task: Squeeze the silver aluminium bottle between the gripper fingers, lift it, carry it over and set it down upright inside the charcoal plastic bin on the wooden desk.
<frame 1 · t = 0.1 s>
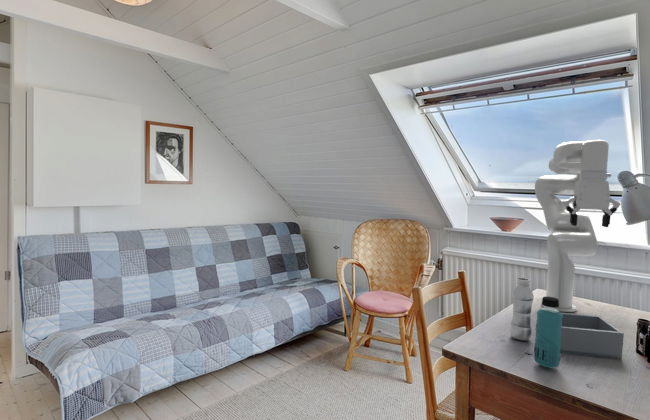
hand: (589, 226, 137), 37 cm above the table, tool pointing down, fingers open, 9 cm apart
bin: (579, 346, 125), on the table
silver aluminium bottle: (520, 339, 130), on the table
beverage bottle: (546, 368, 110), on the table
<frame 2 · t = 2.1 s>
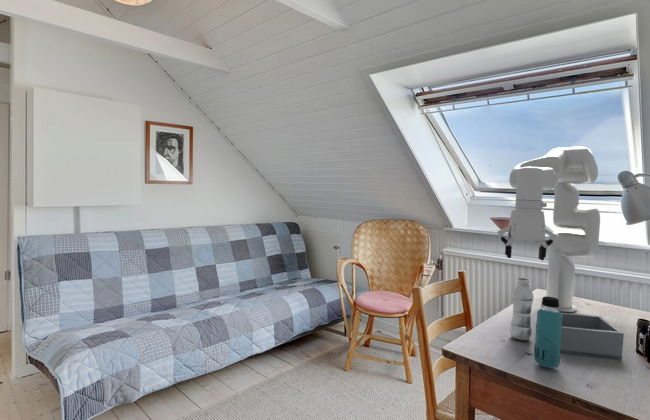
hand: (524, 258, 127), 27 cm above the table, tool pointing down, fingers open, 9 cm apart
nothing on the table moved.
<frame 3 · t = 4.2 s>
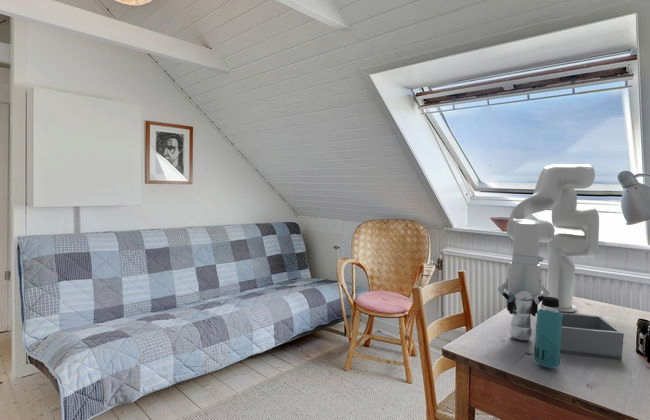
hand: (521, 313, 129), 9 cm above the table, tool pointing down, fingers closed on silver aluminium bottle, 6 cm apart
silver aluminium bottle: (520, 339, 130), on the table, touching gripper
everything else where it was.
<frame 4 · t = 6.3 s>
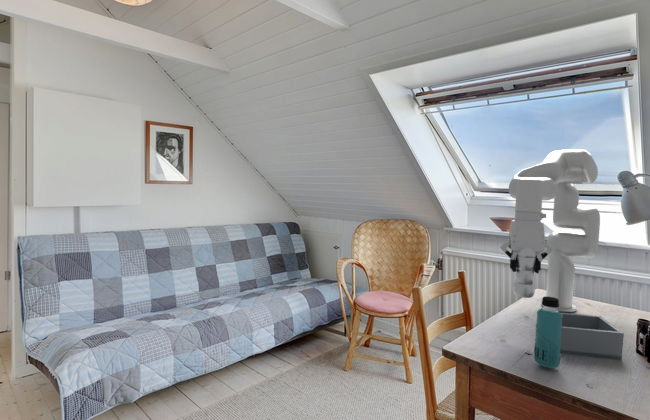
hand: (524, 271, 128), 23 cm above the table, tool pointing down, fingers closed on silver aluminium bottle, 6 cm apart
silver aluminium bottle: (523, 297, 129), point 14 cm above the table, touching gripper
everything else where it was.
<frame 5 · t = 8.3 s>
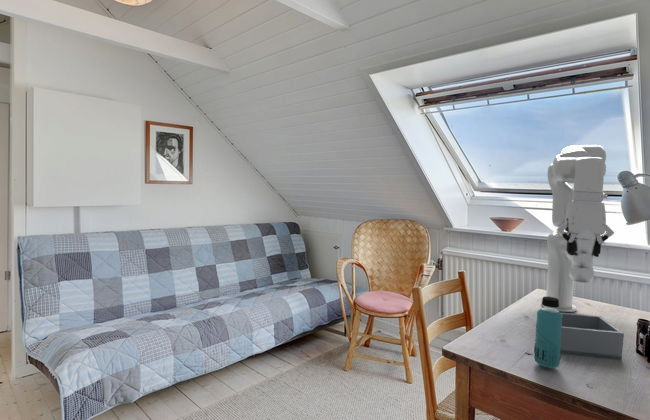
hand: (582, 254, 123), 29 cm above the table, tool pointing down, fingers closed on silver aluminium bottle, 6 cm apart
silver aluminium bottle: (580, 282, 123), point 20 cm above the table, touching gripper
everything else where it was.
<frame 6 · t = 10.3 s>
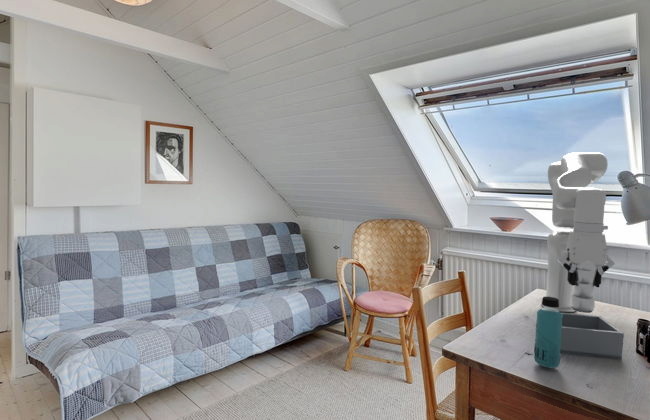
hand: (583, 284, 123), 20 cm above the table, tool pointing down, fingers closed on silver aluminium bottle, 6 cm apart
silver aluminium bottle: (581, 312, 124), point 11 cm above the table, touching gripper
everything else where it was.
when the fingers open (11 cm above the table, at t = 12.4 s): silver aluminium bottle drops 2 cm, resting on bin.
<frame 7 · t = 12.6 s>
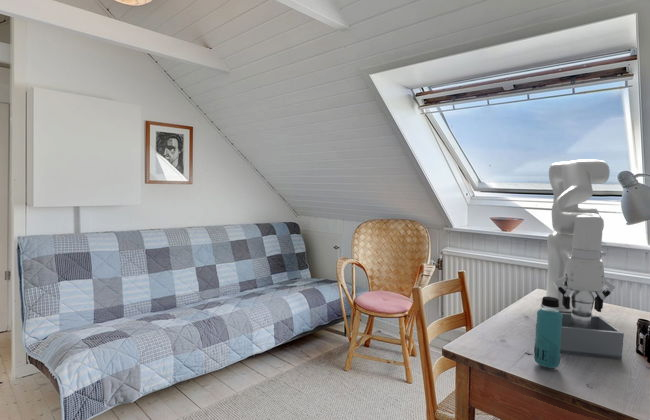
hand: (581, 309, 124), 12 cm above the table, tool pointing down, fingers open, 8 cm apart
silver aluminium bottle: (579, 343, 125), point 1 cm above the table, touching bin
everything else where it was.
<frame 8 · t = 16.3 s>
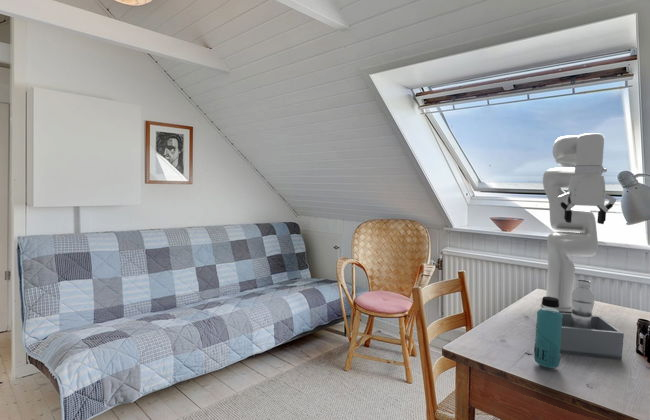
hand: (584, 222, 132), 38 cm above the table, tool pointing down, fingers open, 9 cm apart
nothing on the table moved.
at the end: silver aluminium bottle inside the target area on the bin (0.1 cm from its centre), point 0.8 cm above the bin's base; silver aluminium bottle tilted 0°; the gripper is holding nothing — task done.
